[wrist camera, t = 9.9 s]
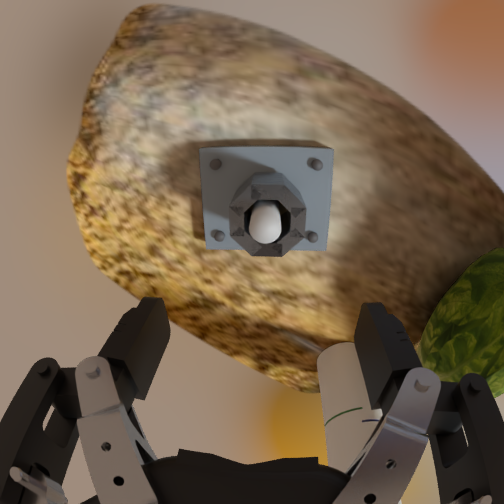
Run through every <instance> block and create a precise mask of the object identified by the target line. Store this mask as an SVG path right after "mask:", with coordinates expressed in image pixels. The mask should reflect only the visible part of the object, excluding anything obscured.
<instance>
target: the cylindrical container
mask: <svg viewBox="0 0 504 504" xmlns="http://www.w3.org/2000/svg"><path fill="white" fill-rule="evenodd" d="M317 370H318V377H319V384H320V392H321V399H322V408H323V417H324V426H325V435H326V444H327V456H328V466H329V467H332V468H335V469H338V470H340V471H342V472H344V473H345V472H346V471H347V469H348V468H349V467H350V465H351V464H352V463H353V461H354V460H355V459H356V457H357V456H358V454H359V453H360V451H361V450H362V448H363V447H364V445H365V443H366V442H367V440H368V439H369V437H370V435H371V433H372V432H373V430H374V428H375V427H376V425H377V423H378V421H379V419H380V418H381V416H382V415H383V414H382V410H381V409H375V410H371V406H370V402H369V398H368V393H367V389H366V385H365V382H364V378H363V374H362V370H361V366H360V363H359V359H358V355H357V352H356V348H355V344H354V343H351V342H344V343H338V344H335V345H333V346H330V347H328V348H327V349H325V350H324V351H323V352H322V353H321V354H320V355H319V357H318V359H317ZM398 504H401V499H400V501H399V502H398Z"/></svg>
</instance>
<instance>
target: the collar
mask: <svg viewBox="0 0 504 504" xmlns="http://www.w3.org/2000/svg"><path fill="white" fill-rule="evenodd" d="M257 200H278V201H279V202H280V203H281V204H282V205H283V206H284V207H285V208H286V209H287V211H286V212H285V213H283V214H282V215H281V216H280V220H281V233H280V236H279V237H278V238H277V239H276V240H275V241H273V242H271V243H266V244H264V243H259V242H257V241H256V240H254V239H253V238H252V236H251V235H250V232H249V225H250V220H251V215H252V212H251V211H249V207H250V206H251V205H252V204H254V203H255V202H256V201H257ZM306 210H307V208H306V205H305V203H304V200H303V198H302V196H301V193H300V191H299V190H298V189H297V188H296V187H295V186H294V185H293V184H292V183H291V182H290V181H289V180H288V179H287V178H286V177H285V176H284V175H283V174H282V173H277V172H254V173H253V174H252V175H251V176H250V177H249V178H248V179H247V180H246V181H245V182H244V183H243V184H242V185H241V186H240V187H239V188H238V189H237V190H236V192H235V194H234V196H233V198H232V200H231V203H230V205H229V229H230V237H231V238H232V239H233V240H235V241H236V242H237V243H238V244H239V245H240V246H241V247H242V248H243V249H245V250H246V251H247V252H248V253H249V254H250V255H251V256H273V257H282V256H283V255H285V254H286V253H287V252H288V251H289V250H290V249H292V248H293V247H294V246H295V245H296V244H298V243H299V242H300V241H301V240H302V239H304V238H305V225H306Z"/></svg>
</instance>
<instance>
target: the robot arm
mask: <svg viewBox="0 0 504 504" xmlns="http://www.w3.org/2000/svg"><path fill="white" fill-rule="evenodd" d="M169 339H170V325H169V320H168V316H167V312H166V308H165V304H164V301H163V299H162V298H156V297H143V299H142V300H141V302H140V303H139V305H138V306H137V308H132V309H130V310H129V311H128V312H126V313H125V314H124V315H123V316H122V318H121V319H120V321H119V322H118V325H117V326H116V327H115V329H114V332H112V333H111V335H110V336H109V338H108V339H107V341H106V343H105V344H104V346H103V347H102V349H101V351H100V352H99V354H98V355H97V356H93V357H89V358H86V359H84V360H83V361H82V362H80V363H79V365H78V366H77V367H76V368H60V366H59V365H58V363H57V361H56V360H55V359H53V358H43V359H41V360H39V361H37V362H36V363H35V364H34V365H33V366H32V368H31V370H30V371H29V373H28V374H27V376H26V378H25V379H24V381H23V382H22V384H21V386H20V387H19V389H18V391H17V393H16V394H15V396H14V398H13V400H12V401H11V403H10V405H9V407H8V409H7V410H6V412H5V414H4V416H3V418H2V420H1V422H0V504H68V500H67V498H66V497H65V495H64V491H63V489H62V487H61V486H62V483H63V480H64V477H65V474H66V471H67V468H68V465H69V462H70V460H71V457H72V454H73V451H74V449H75V446H76V443H77V440H78V438H79V435H80V439H81V444H82V448H83V451H84V455H85V459H86V462H87V465H88V469H89V472H90V475H91V478H92V481H93V484H94V487H95V490H96V492H97V495H95V496H93V497H92V498H90V499H88V500H86V501H84V502H82V503H80V504H398V502H399V501H400V499H401V497H402V495H403V494H404V492H405V490H406V488H407V486H408V484H409V482H410V480H411V478H412V476H413V474H414V472H415V470H416V468H417V466H418V464H419V461H420V459H421V457H422V455H423V452H424V450H425V447H426V445H427V442H428V438H429V440H430V444H431V449H432V454H433V459H434V464H435V469H436V476H437V481H438V488H439V495H440V503H441V504H504V422H503V419H502V416H501V413H500V411H499V408H498V406H497V404H496V401H495V399H494V396H493V394H492V392H491V390H490V387H489V385H488V383H487V381H486V380H485V379H484V378H483V377H482V376H480V375H479V374H476V373H467V374H465V375H464V376H463V377H462V378H461V380H460V381H459V382H447V381H440V379H439V377H438V376H437V375H436V374H435V373H434V372H433V371H431V370H429V369H427V368H423V366H422V364H421V362H420V359H419V357H418V355H417V353H416V351H415V349H414V347H413V344H412V342H411V341H410V338H409V336H408V334H407V333H406V330H405V328H404V326H403V324H402V322H401V321H400V320H399V319H398V318H396V317H395V316H394V315H393V314H388V313H387V311H386V309H385V307H384V305H383V304H382V303H381V302H377V303H363V305H362V307H361V311H360V315H359V318H358V322H357V326H356V330H355V335H354V344H355V348H356V352H357V355H358V359H359V363H360V366H361V370H362V374H363V378H364V382H365V385H366V389H367V393H368V398H369V402H370V406H371V410H375V409H381V410H382V414H383V415H382V416H381V418H380V419H379V421H378V423H377V425H376V427H375V428H374V430H373V432H372V433H371V435H370V437H369V439H368V440H367V442H366V443H365V445H364V447H363V448H362V450H361V451H360V453H359V454H358V456H357V457H356V459H355V460H354V461H353V463H352V464H351V465H350V467H349V468H348V469H347V471H346V472H345V473H344V472H342V471H340V470H338V469H335V468H332V467H329V466H325V465H320V464H318V457H306V458H282V459H277V460H272V461H268V462H262V463H256V464H249V465H247V464H242V463H238V462H235V461H232V460H229V459H226V458H222V457H220V456H217V455H214V454H210V453H202V452H195V451H189V450H184V449H179V452H178V455H177V456H171V457H165V458H161V459H157V457H156V455H155V453H154V452H153V450H152V449H151V447H150V445H149V443H148V441H147V439H146V437H145V434H144V432H143V430H142V427H141V425H140V423H139V420H138V418H137V415H136V412H135V410H134V407H133V405H132V403H133V401H134V398H136V399H141V400H145V398H146V395H147V393H148V390H149V388H150V385H151V383H152V380H153V378H154V375H155V373H156V371H157V368H158V366H159V363H160V361H161V358H162V356H163V353H164V351H165V349H166V346H167V344H168V342H169ZM51 405H52V406H53V407H54V408H55V409H54V411H53V413H52V415H51V417H50V419H49V422H48V424H47V426H46V428H45V430H44V431H43V421H44V419H45V417H46V415H47V413H48V411H49V409H50V406H51ZM462 425H463V427H464V431H465V434H466V437H467V441H468V446H467V443H466V439H465V436H464V432H463V429H462ZM426 434H428V435H426Z"/></svg>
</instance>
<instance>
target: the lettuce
mask: <svg viewBox="0 0 504 504" xmlns="http://www.w3.org/2000/svg"><path fill="white" fill-rule="evenodd" d="M416 353H417V355H418V357H419V359H420V362H421V364H422V366H423V368H427V369H429V370H431V371H433V372H434V373H435V374H436V375H437V376H438V377H439V379H440V381H447V382H459V381H460V380H461V378H462V377H463V376H464V375H465V374H467V373H476V374H479V375H480V376H482V377H483V378H484V379H485V380H486V381H487V383H488V385H489V387H490V390H491V392H492V394H493V396H494V398H496V397H498V396H500V395H501V394H503V393H504V248H495V249H494V250H492V251H490V252H488V253H486V254H484V255H483V256H481V257H480V258H479V259H477V260H476V261H475V262H474V263H472V264H471V265H470V266H469V267H468V268H467V269H466V270H465V271H464V273H463V274H462V275H461V276H460V277H459V278H458V280H457V281H456V282H455V283H454V284H453V285H452V287H451V288H450V289H449V290H448V291H447V292H446V293H445V295H444V296H443V297H442V299H441V300H440V301H439V303H438V304H437V306H436V308H435V310H434V312H433V313H432V315H431V317H430V319H429V321H428V323H427V325H426V327H425V329H424V331H423V333H422V337H421V340H420V344H419V346H418V348H417V350H416Z"/></svg>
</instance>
